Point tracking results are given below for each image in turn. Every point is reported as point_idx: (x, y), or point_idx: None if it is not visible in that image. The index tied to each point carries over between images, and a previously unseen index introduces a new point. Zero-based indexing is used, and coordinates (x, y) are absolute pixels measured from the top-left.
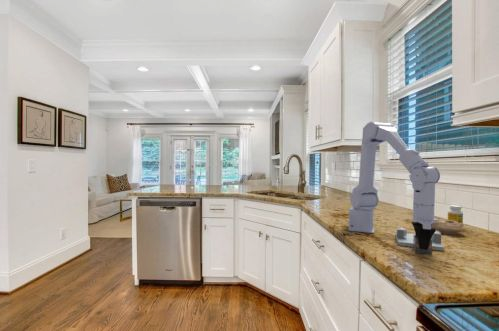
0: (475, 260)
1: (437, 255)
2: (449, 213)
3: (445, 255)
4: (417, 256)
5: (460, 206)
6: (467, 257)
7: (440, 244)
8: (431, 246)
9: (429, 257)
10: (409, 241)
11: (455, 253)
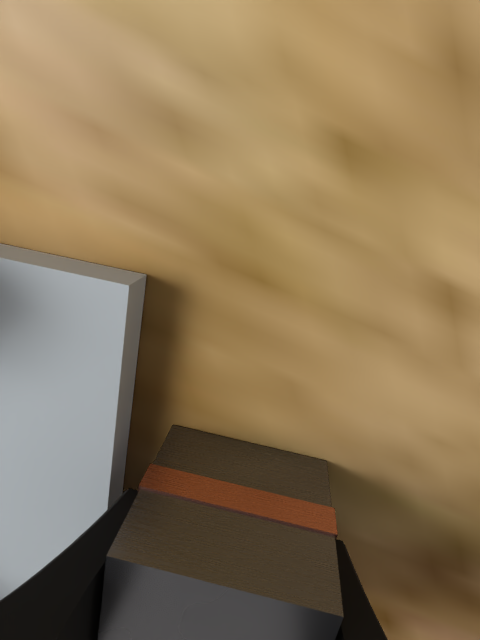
0: (463, 19)
1: (344, 418)
2: None
3: (322, 333)
4: (419, 603)
5: None
6: (343, 78)
7: (6, 279)
8: (334, 536)
9: (431, 519)
10: (35, 566)
11: (201, 170)
